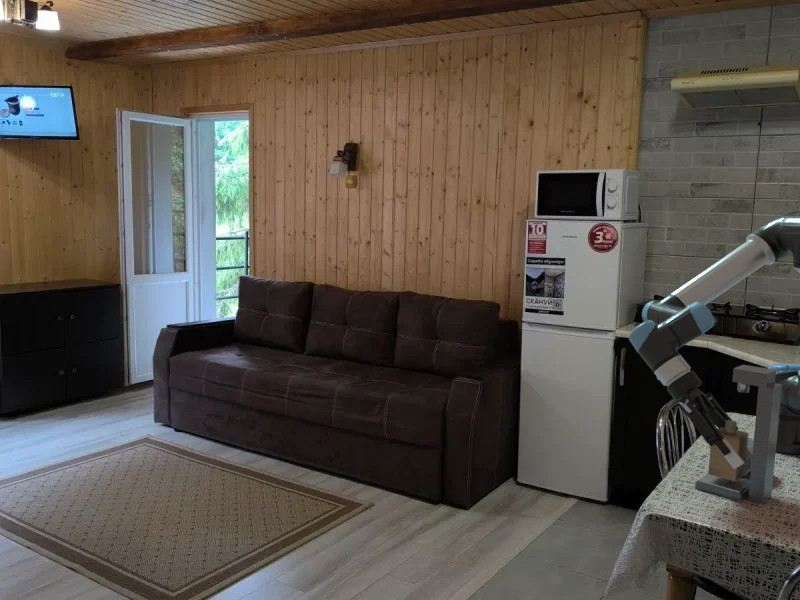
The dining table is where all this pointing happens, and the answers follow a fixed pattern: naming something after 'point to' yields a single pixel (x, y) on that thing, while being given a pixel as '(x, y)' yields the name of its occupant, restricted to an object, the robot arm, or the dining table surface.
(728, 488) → the press
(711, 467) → the brown bottle
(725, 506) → the dining table surface
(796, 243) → the robot arm
